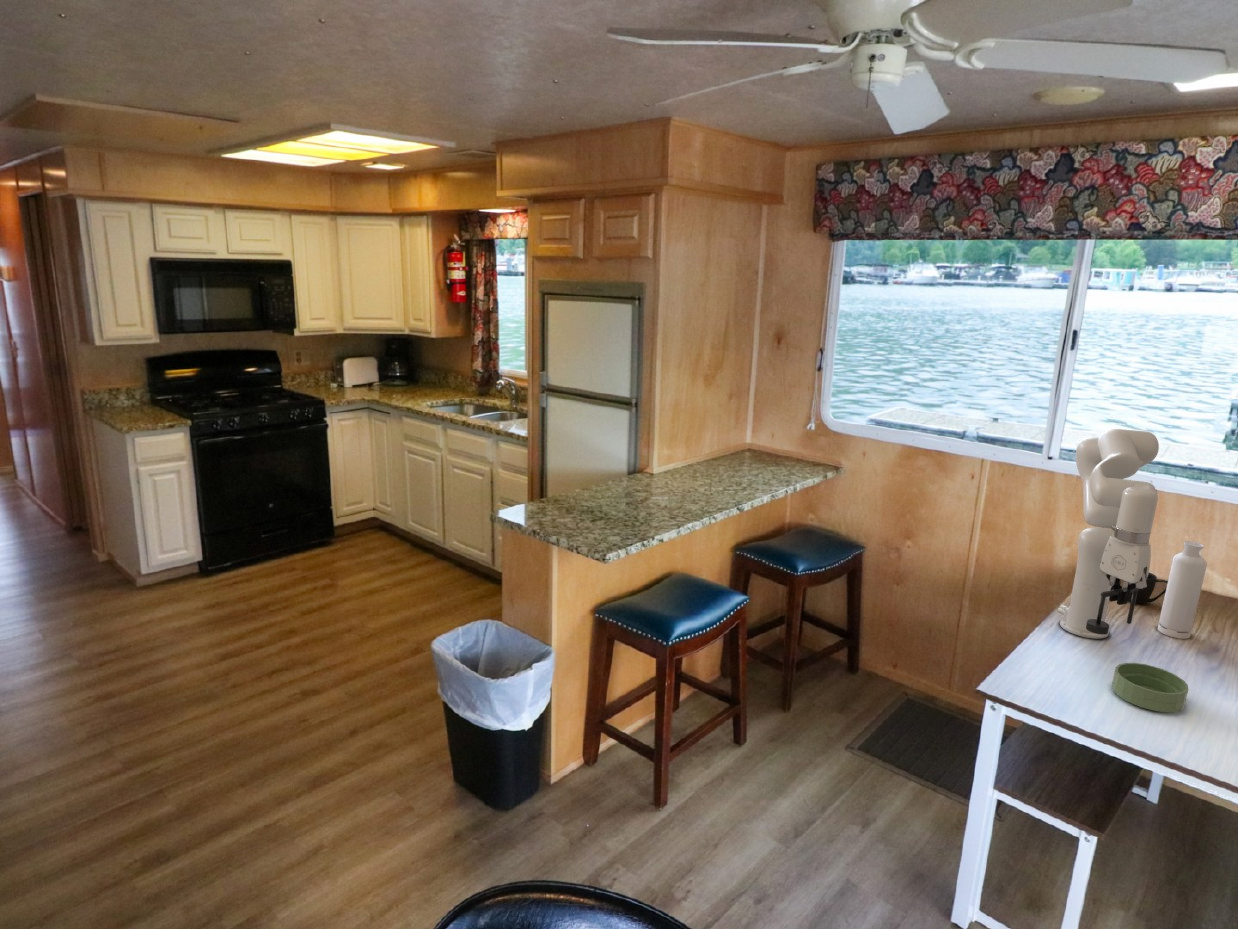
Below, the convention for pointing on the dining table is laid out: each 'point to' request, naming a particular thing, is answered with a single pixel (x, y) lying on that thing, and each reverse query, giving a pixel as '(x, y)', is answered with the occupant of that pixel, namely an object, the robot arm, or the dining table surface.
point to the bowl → (1150, 687)
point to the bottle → (1183, 591)
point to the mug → (1147, 591)
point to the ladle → (1099, 625)
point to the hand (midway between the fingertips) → (1118, 601)
